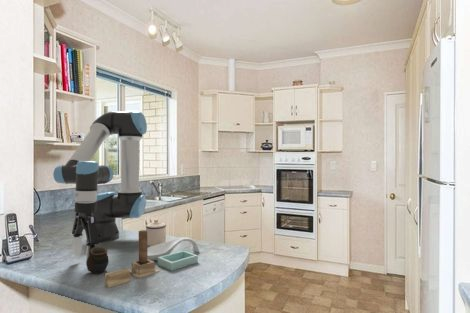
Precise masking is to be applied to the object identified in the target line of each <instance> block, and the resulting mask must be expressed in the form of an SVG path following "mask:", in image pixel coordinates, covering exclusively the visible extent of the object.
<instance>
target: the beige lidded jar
mask: <svg viewBox="0 0 470 313" xmlns="http://www.w3.org/2000/svg"><path fill="white" fill-rule="evenodd" d="M166 227H167V225H166V223H164V222H161V221H159V218H155V219H153V221H151V222H150V223H147V224H146V226H145V228H146V230H147V247H151V246H154V245H158V244H162V243H165V242H166Z"/></svg>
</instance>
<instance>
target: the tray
mask: <svg viewBox="0 0 470 313" xmlns="http://www.w3.org/2000/svg"><path fill="white" fill-rule="evenodd" d="M198 258H199V256H198V255H197V254H195V253H192V252H189V251H187V250H180V251H179V250H178V251H176V252H171V253H170V254H168V255H165V256H161V257H158V260H157V266H159V267H161V268H164V269H166V270H168V271H170V272H173V271H175V270H176V271H177V270H178V269H182V268H184V267H185V268H186V267H188V266H190V265H194V264H197V263H198Z"/></svg>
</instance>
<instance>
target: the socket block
mask: <svg viewBox="0 0 470 313" xmlns="http://www.w3.org/2000/svg"><path fill="white" fill-rule="evenodd" d="M155 266H156V265H155V261H151V260H149V259H147V263H146V264H142V265H140V264H139V259H138V260H135V261H131V269H129V270H130V276H131V275H132V276H134V277H135V278H137V279H140V278H143V277H146V276H149V275H153V274H156V273H159V272H160V270H159V269H157V268H155Z"/></svg>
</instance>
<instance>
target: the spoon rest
mask: <svg viewBox="0 0 470 313" xmlns="http://www.w3.org/2000/svg"><path fill="white" fill-rule="evenodd" d="M182 242H189V243H190V244H192V250H193V251H194V252H196V253H199V252H200V250H199V246H198V243H197V242H196V241H195V240H194V239H192V238H190V237H187V236H179V237H176V238H174V239H173V238H172V239H171V240H168V241H165V243H162V244H158V245H154V246H147V259H149V260H151V261H153V262H155V261H157V262H158V257H161V256H165V255H168V254H172V253H173V252H172V251H174V249H176V247H177V246H178V245H179V244H180V243H182Z"/></svg>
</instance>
